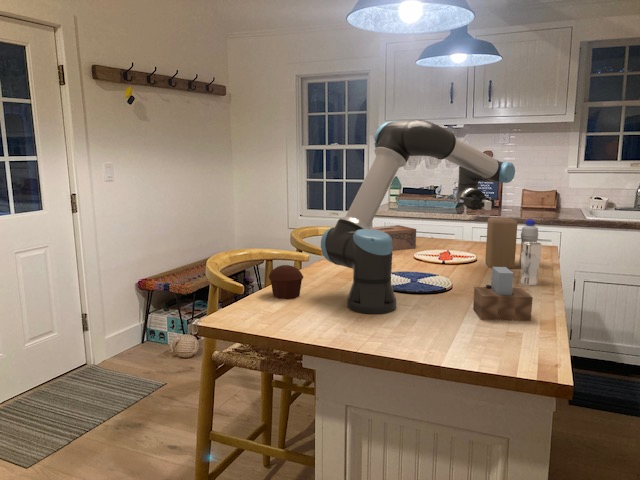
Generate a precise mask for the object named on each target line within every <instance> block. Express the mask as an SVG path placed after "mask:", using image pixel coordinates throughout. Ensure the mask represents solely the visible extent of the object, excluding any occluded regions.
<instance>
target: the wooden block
mask: <svg viewBox="0 0 640 480" xmlns="http://www.w3.org/2000/svg"><path fill="white" fill-rule="evenodd" d="M517 233H518V221H517V220H515V219H513V218H511V217H488V219H487V226H486V240H485V241H486V243H485V245H486V246H485V260H484V262H485V264H486V266H488V267H489V268H490V269H492V267H506V268H508V269H509V270H513V269H515V267H516V266H515V265H516V264H515V262H516V252H517V251H516V249H517Z"/></svg>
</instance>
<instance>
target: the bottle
mask: <svg viewBox="0 0 640 480" xmlns="http://www.w3.org/2000/svg"><path fill="white" fill-rule="evenodd" d="M520 240H521V243H520V247H521V246H522V242H538V240H539V227H537V226H535V220H534V219H526V221H525V225H524V226H522V229H521V233H520ZM519 266H520V267H521V261H520V259H519Z"/></svg>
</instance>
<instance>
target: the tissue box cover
mask: <svg viewBox="0 0 640 480" xmlns="http://www.w3.org/2000/svg"><path fill="white" fill-rule="evenodd" d="M369 229H372V230H379V231H382V232H385V233H387V234H388V235H390V237H391V238H392V247H393V251H392V252H398V251H405V250H415V249H417V247H416V244H417V228H414V227H410V226H409V227H408V226H404V225H400V224H395V225H385V226H383V225H382V226H373V227H369Z"/></svg>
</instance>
